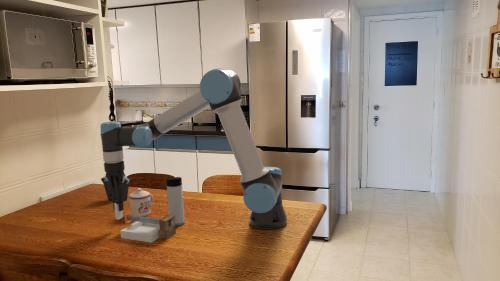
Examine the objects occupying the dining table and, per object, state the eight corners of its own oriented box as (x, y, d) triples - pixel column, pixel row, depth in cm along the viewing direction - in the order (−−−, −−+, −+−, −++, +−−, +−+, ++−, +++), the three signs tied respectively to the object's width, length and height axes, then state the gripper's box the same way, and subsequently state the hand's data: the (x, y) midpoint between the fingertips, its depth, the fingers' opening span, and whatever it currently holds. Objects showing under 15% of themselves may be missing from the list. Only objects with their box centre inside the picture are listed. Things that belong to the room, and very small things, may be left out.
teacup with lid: (140, 218, 168) (138, 192, 166) (126, 215, 173) (124, 190, 171) (160, 210, 178) (158, 185, 176) (147, 207, 183) (145, 183, 181)
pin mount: (175, 233, 151) (174, 215, 149) (167, 239, 145) (165, 220, 144) (168, 232, 152) (167, 214, 150) (160, 238, 146) (158, 219, 145)
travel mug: (170, 227, 157) (166, 179, 153) (168, 221, 163) (165, 175, 160) (185, 225, 158) (182, 178, 155) (183, 219, 165) (180, 174, 161)
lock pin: (175, 225, 149) (174, 216, 148) (170, 229, 145) (169, 220, 145) (131, 220, 156) (130, 211, 156) (125, 223, 153) (124, 214, 152)
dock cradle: (172, 228, 156) (172, 221, 155) (151, 242, 143) (151, 235, 142) (143, 224, 161) (143, 217, 160) (121, 238, 148) (120, 230, 148)
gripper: (133, 159, 153) (138, 216, 157) (107, 158, 158) (113, 213, 162) (120, 164, 146) (126, 223, 150) (93, 162, 151) (100, 219, 155)
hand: (119, 218), depth 156 cm, fingers closed
